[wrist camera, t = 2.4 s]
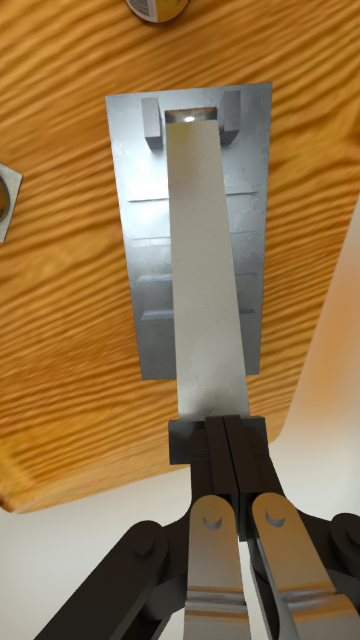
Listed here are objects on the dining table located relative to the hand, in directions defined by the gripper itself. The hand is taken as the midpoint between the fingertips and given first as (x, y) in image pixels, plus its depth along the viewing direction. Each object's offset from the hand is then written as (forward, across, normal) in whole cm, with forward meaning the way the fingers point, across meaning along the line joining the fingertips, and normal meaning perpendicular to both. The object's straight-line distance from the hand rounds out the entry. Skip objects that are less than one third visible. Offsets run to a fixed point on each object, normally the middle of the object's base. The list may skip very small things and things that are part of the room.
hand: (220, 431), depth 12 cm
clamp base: (+20, 0, -5) cm, 21 cm away
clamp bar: (+10, 0, -6) cm, 12 cm away
